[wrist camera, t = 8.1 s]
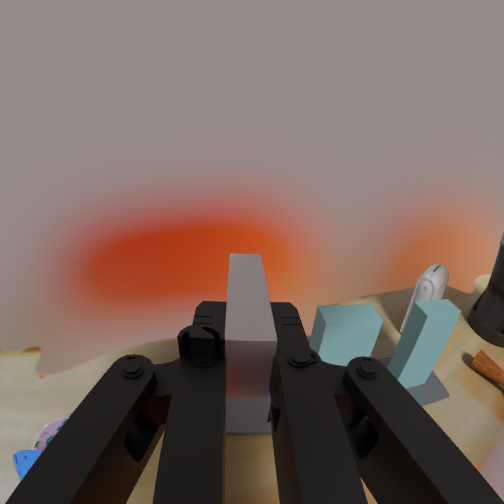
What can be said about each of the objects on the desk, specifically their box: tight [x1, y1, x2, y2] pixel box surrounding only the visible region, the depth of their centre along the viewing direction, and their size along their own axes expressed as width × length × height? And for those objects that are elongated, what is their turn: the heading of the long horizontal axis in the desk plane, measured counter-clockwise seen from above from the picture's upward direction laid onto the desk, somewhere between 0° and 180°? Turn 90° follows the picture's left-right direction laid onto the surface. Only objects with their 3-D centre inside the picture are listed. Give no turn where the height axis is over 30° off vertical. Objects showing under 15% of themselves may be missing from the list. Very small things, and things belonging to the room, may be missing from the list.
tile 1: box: [387, 299, 461, 388], centre depth 27 cm, size 6×3×12 cm, turn 93°
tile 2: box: [309, 304, 383, 366], centre depth 27 cm, size 6×3×12 cm, turn 93°
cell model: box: [13, 417, 69, 481], centre depth 12 cm, size 10×12×10 cm
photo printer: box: [400, 264, 449, 335], centre depth 39 cm, size 10×4×12 cm, turn 124°
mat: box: [225, 358, 449, 434], centre depth 29 cm, size 36×10×1 cm, turn 93°
